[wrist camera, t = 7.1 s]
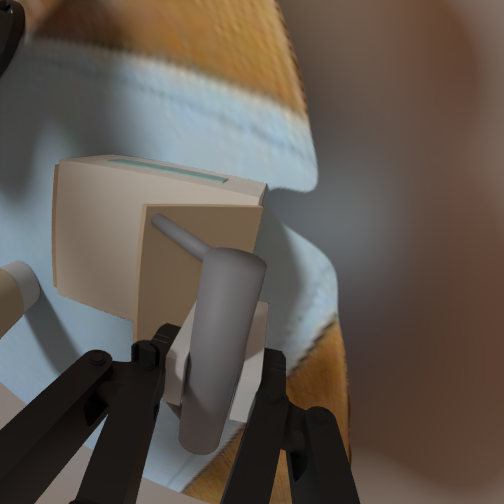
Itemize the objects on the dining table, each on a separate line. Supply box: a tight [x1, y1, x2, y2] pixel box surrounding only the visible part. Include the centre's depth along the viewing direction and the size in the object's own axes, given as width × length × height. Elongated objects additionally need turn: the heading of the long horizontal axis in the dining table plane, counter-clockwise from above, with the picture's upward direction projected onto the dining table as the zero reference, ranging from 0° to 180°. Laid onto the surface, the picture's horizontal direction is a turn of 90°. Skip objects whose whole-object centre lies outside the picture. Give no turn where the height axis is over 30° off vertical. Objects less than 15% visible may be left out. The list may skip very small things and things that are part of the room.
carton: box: [52, 154, 267, 321], centre depth 26 cm, size 12×17×9 cm
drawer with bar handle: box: [133, 204, 267, 455], centre depth 16 cm, size 11×8×8 cm
